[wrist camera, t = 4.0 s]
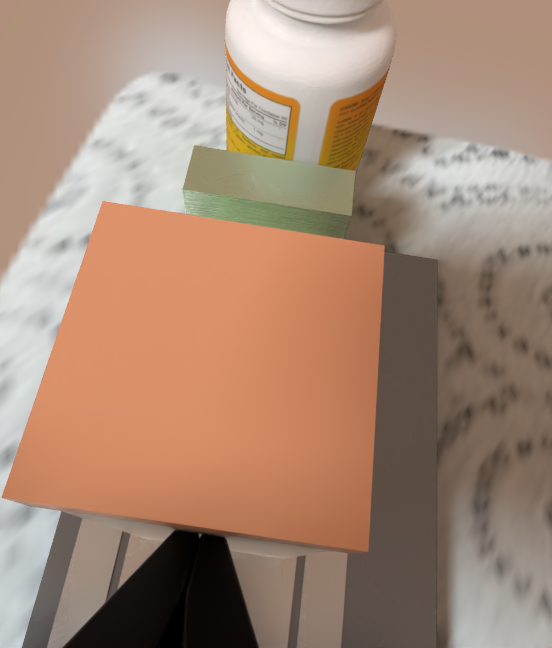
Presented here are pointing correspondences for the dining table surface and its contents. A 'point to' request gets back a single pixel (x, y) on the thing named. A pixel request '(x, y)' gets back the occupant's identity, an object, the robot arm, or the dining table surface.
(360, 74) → the supplement bottle
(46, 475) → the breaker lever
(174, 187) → the dining table surface
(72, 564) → the plate
